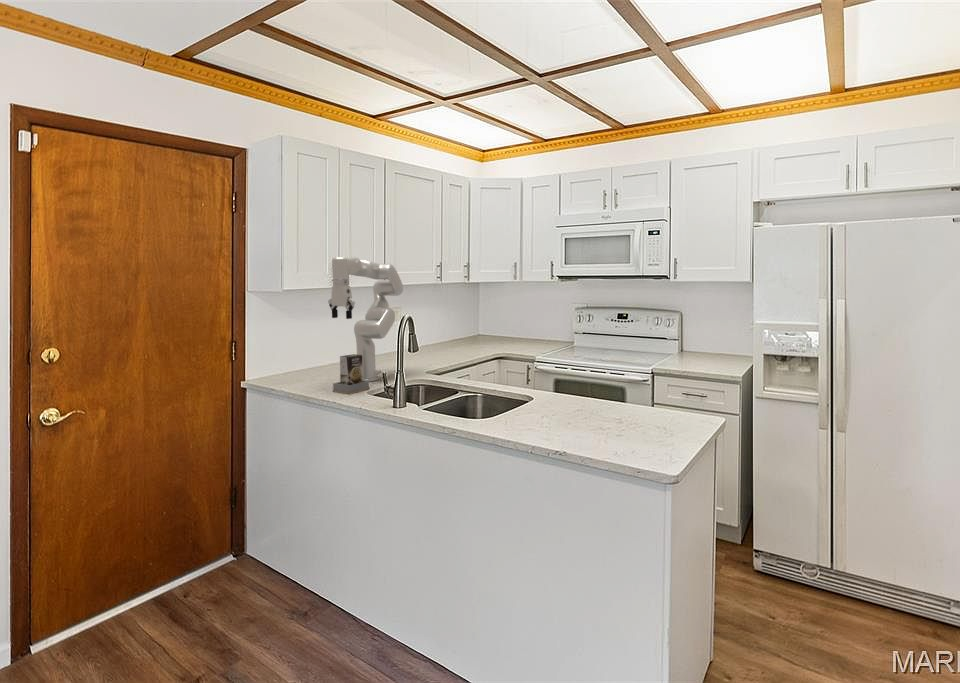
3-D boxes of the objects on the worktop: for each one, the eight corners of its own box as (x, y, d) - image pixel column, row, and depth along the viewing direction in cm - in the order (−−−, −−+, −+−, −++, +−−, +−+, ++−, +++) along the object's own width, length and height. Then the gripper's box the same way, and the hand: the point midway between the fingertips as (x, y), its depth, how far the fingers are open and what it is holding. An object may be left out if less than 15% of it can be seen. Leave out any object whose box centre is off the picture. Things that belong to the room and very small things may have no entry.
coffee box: (349, 390, 268) (348, 357, 266) (340, 389, 271) (339, 355, 269) (363, 387, 275) (362, 354, 273) (354, 386, 279) (353, 353, 277)
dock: (353, 386, 282) (353, 378, 281) (369, 389, 276) (369, 381, 275) (332, 391, 270) (332, 383, 270) (349, 394, 265) (349, 386, 264)
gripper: (359, 283, 273) (360, 318, 275) (334, 282, 282) (335, 316, 284) (347, 283, 266) (349, 319, 269) (322, 282, 276) (323, 318, 278)
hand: (341, 318), depth 276 cm, fingers open, 9 cm apart
